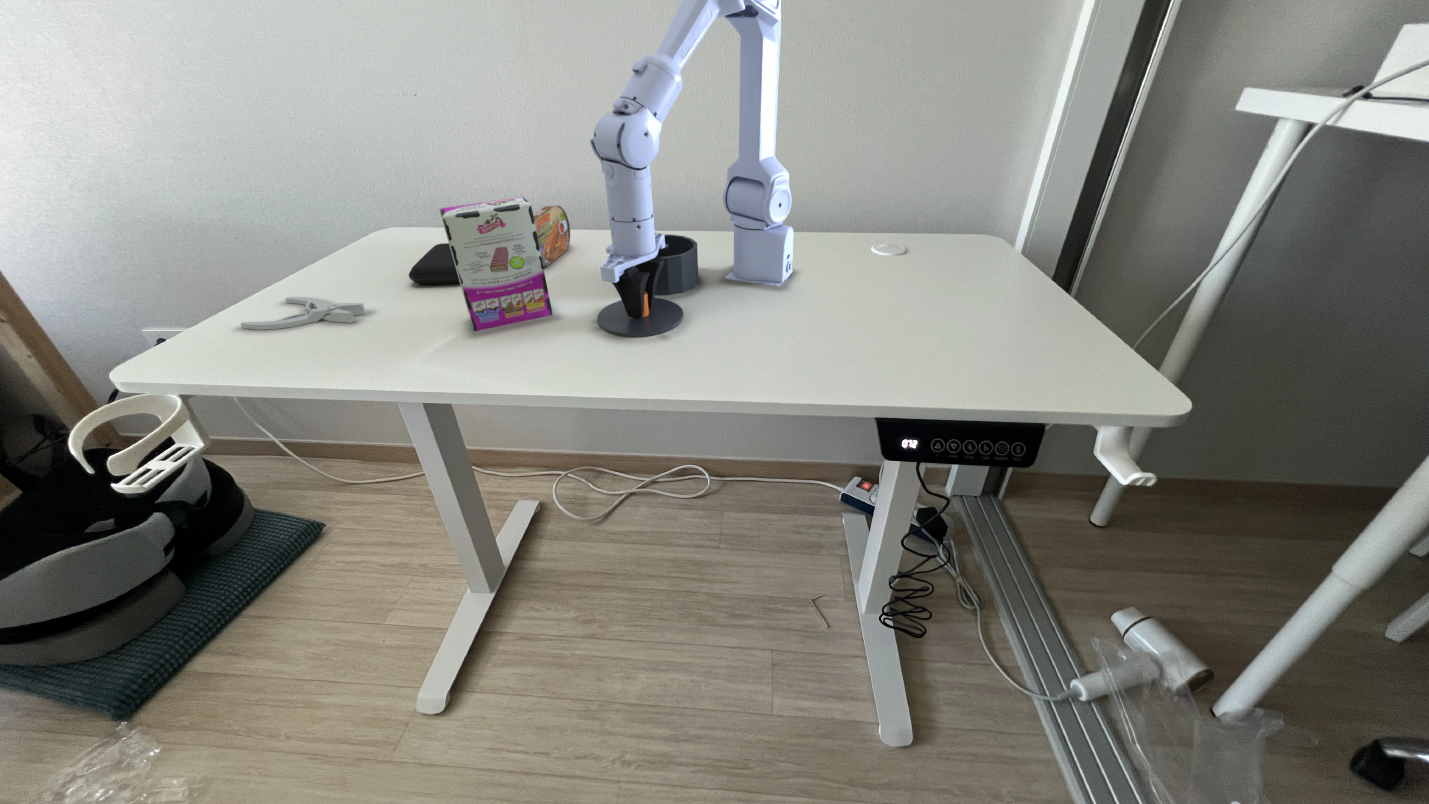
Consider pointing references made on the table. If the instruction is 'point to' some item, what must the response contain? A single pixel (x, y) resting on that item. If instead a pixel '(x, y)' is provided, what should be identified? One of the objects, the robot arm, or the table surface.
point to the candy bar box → (498, 261)
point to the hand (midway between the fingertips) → (640, 312)
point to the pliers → (312, 314)
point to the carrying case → (435, 267)
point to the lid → (652, 322)
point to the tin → (552, 232)
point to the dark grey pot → (678, 266)
